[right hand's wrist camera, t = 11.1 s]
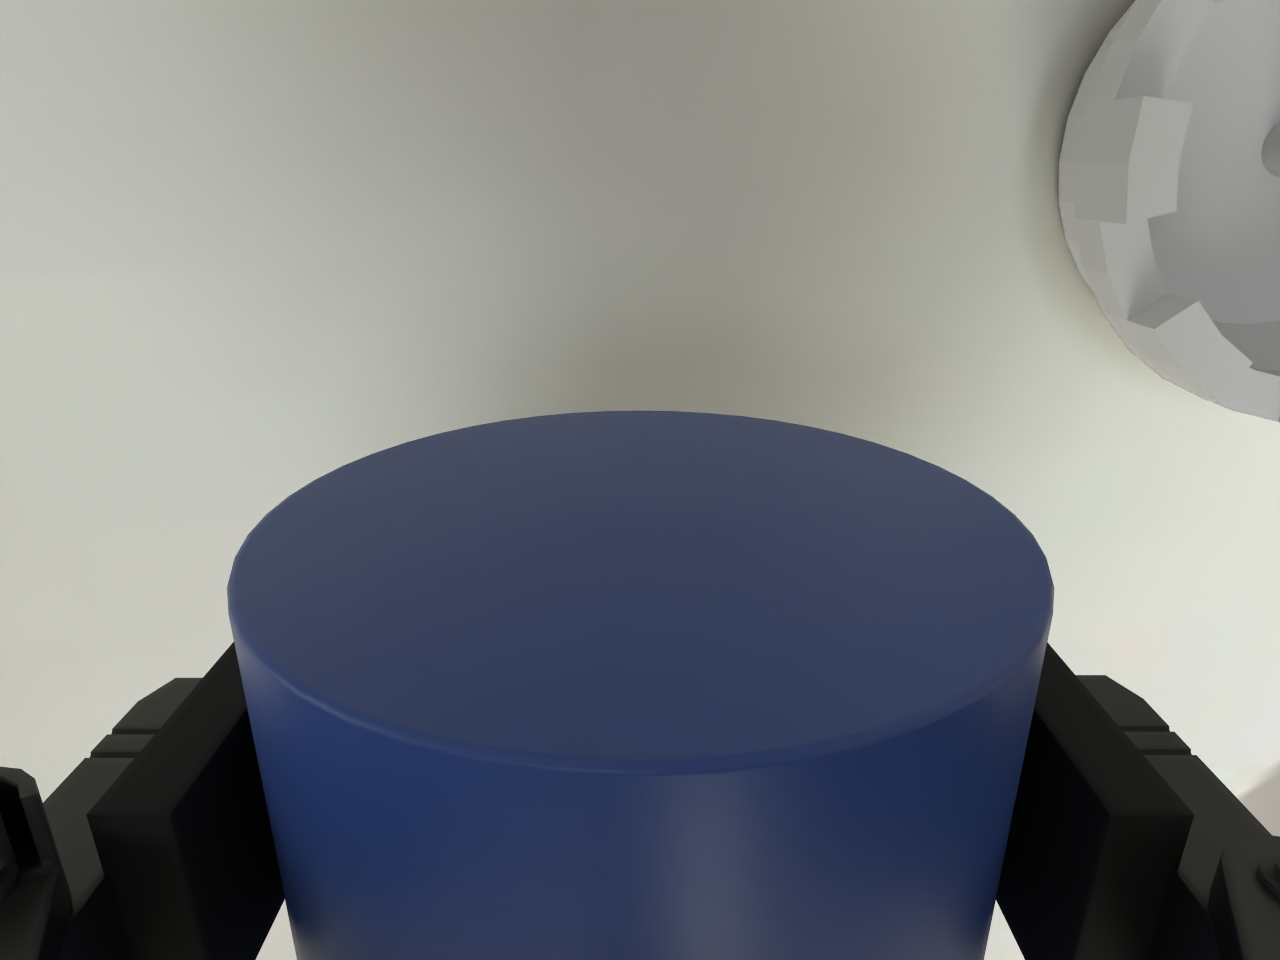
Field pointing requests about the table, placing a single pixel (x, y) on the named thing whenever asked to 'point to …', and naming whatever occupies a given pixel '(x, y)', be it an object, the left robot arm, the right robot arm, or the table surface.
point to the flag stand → (1184, 193)
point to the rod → (640, 694)
